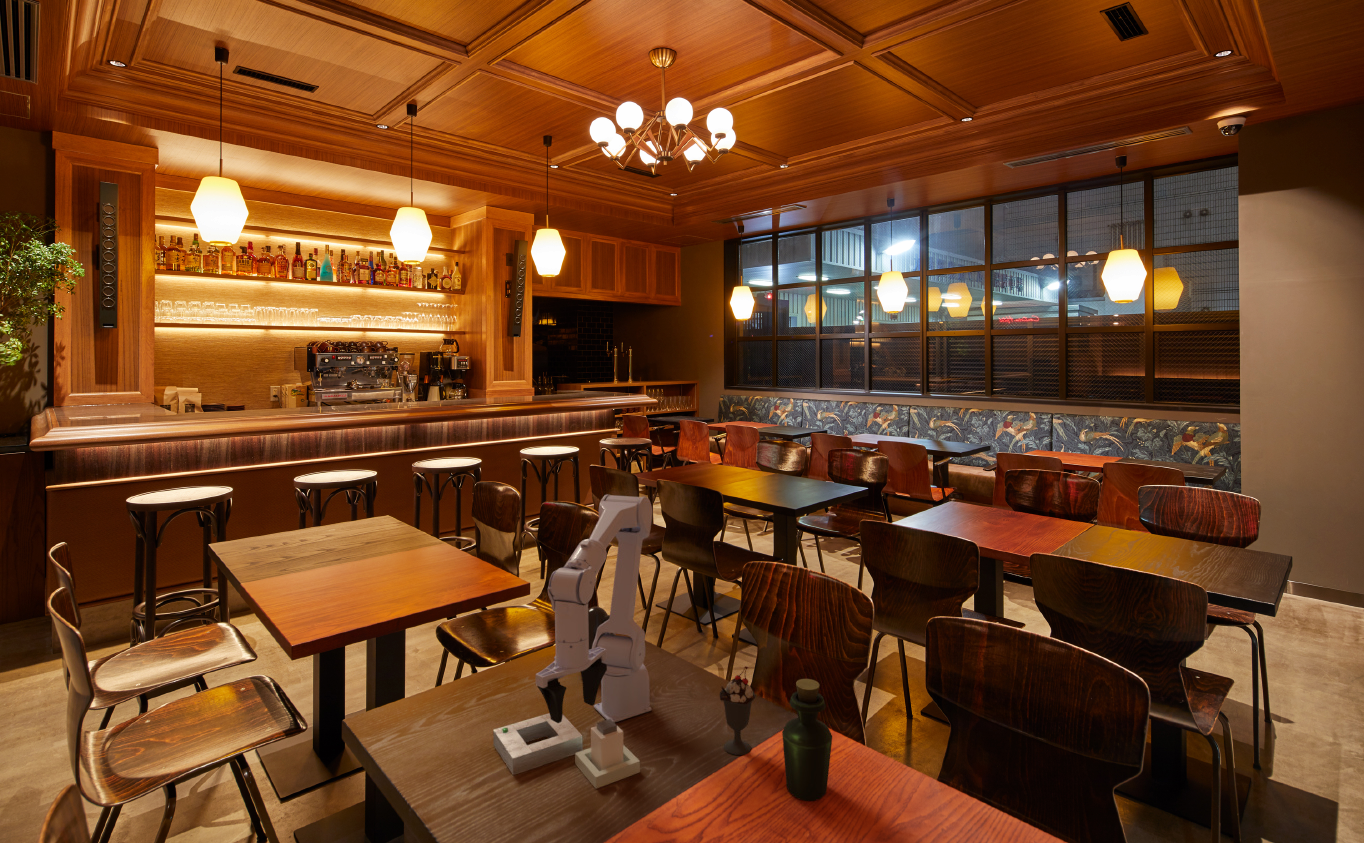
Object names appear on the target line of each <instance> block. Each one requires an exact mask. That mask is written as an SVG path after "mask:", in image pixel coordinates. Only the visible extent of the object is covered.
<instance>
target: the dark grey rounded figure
mask: <svg viewBox="0 0 1364 843" xmlns="http://www.w3.org/2000/svg"><path fill="white" fill-rule="evenodd" d="M609 618H610V614H608V613H607V611H606V610H605V609H604V608H602V607H599V606H592V607H589V608H588V632H589V650H590V649H592V646H593V642H594V640H595V637H596V632H597V628H598V627H599V626H600V625H601V624H603V623H604V622H606V621H607V620H609ZM610 635H616V633H610Z"/></svg>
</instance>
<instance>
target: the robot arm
mask: <svg viewBox="0 0 1364 843" xmlns="http://www.w3.org/2000/svg"><path fill="white" fill-rule="evenodd" d="M651 503H652V502H651V501H650V499H649V497H647V496H630V495H629V496H627V495H611V494H604V496H603V497H602V498H601V500H600V502H599V506H598V521H596V524H595V526H594V528H593V531H592V532H591V534H590V536H589V538H587V539H583V540H581V541H580V542H579V543H578V545H577V546H576V548H575V550H574V551H573V553H572V554H571V556H570V557H569V559H568V560H567V561H566V563H565V564H564V566H563V567H560V568H558V569H556V570H554V571H553V572H552V573H551V575H550V577H549V579H548V580H549V581H548V587H547V594H548V598H549V600H550V602H551V610H552V611H553V612H554V627H555V628H554V630H555V633H554V636H555V656H554V657H553V658H554V661H552V662H551V663H550V664H549V665H547V666H546V667H545V668H543V669H542V670H540V671H539V672H537V673H535V685H536V687H537V688H538V689H539V691H540V693H541V695H542V697H543V699H544V701H545V704H546V706H547V709H548V710H547V711H548V713H550V717H551V720H553V721H555V722H556V723H560V722H561V721H562V714H563V711H564V710H563V709H564V708H563V704H564V698H565V693H566V691H567V686H565V685H562V684H561V682H560V681H559V679H561V678H564V677H566V676H568V675H572V674H576V673H580V675H581V680H582V681H581V682H582V696H583V702H584V703H585V704H587V705H589V706H592V707H593V708H594V709H595V710H596V711H597V712H598V713H599V714H600V715H601V716H602V717H604V719H605V720H608V719H611V720H612V721H613V722H614V723H617V722H620V721H625V720H626V719H629V718H632V717H635V716H639V715H642V714H645V713H648V712H651V711H652V707H651V706H650V677H649V672H648V668H647V667H646V666H645V664H644V661H645V657H646V643H645V642H646V633H645V632H646V631H644V629H643V628H641V626H640V625H639V624H638V623H637V622H636V621H635V620H634V616H635V608H636V598H637V590H638V584H639V583H638V582H639V574H640V572H639V571H640V564H641V554H642V546H643V540H645V539H647V538H649V537H650V533H651V528H652V520H653V506H652V504H651ZM614 538H616V540H617V541H618V547H617V554H616V561H615V572H614V578H613V587H612V595H611V602H610V611H609V615H610V618H609V620H607V621H606V622H604V623H603V624H601V625H600V626H599V627H598V628H597V632H596V637H595V640H594V642H593V646H592V649H590V650H589V632H588V609H589V602H590V600H591V599H592V597H593V594H594V591H595V587H596V586H595V585H596V583H597V575H598V573H599V572H600V570H601V568H602V566H603V564H604V563H605V562H606V560H607V557H608V553H607V550H606V549H607V547H608V546H609V545H610V544H611V542H612V540H613V539H614ZM610 633H615V635H610ZM616 634H619V635H616ZM623 635H625V636H623ZM600 685H601V686H600ZM600 687H601V689H600V690H601V694H600V695H601V702H599V703H598V702H597V703H596V699H597V695H598V691H599V688H600ZM595 703H596V704H595Z"/></svg>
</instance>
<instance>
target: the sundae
mask: <svg viewBox="0 0 1364 843" xmlns="http://www.w3.org/2000/svg"><path fill="white" fill-rule="evenodd" d="M748 668H749V666H746V665H745V666H744V668H743V671H742V672H741V673H739V674H738V675H735V677H734V678H732V679H730V681H729V682H728V683H727V684H726V687H724V686H723V685H722V686H720V688H721V690H720V691H719V700H720V701H721V702H723V705H724V713H725V721H726V724H727V726H728V727H729V728H730V729H732V730H733V732H734V736H733V739H731V740H728V741H726V742H725V743H724V745H723V748H724V750H725V752H727V753H729V754H730V755H733V756H743V755H746V754H748V753H750V751H751V749H752V746H751V744H750V743H749V742H747V741H745V740H743V739H742V737H741V732H742V731H743V730H744V729H745V728H746V727H747V726H748V725H749V722H750V716H751V708H752V703H753V701H754V700H755V699H756V697H757V695H756V694H755V692H754V691H753V688H752V687H751V686H750V685H749V679H748V678H747V677H746V676H747V675H746V674H747V669H748ZM743 673H744V678H742V677H741V676H742V674H743Z"/></svg>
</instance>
